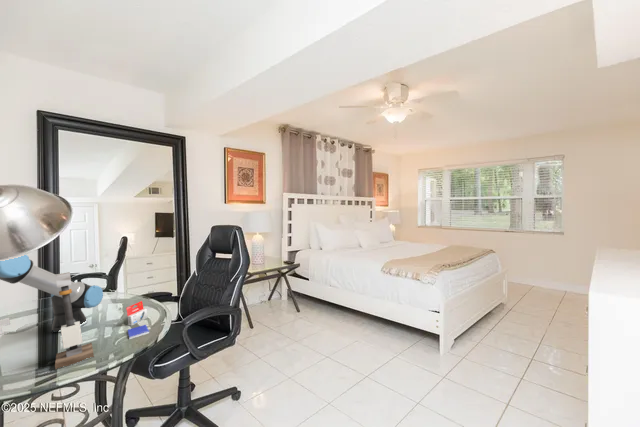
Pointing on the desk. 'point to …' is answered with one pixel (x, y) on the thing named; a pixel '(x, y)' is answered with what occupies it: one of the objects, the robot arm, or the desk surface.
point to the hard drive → (138, 331)
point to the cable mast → (74, 352)
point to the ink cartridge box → (136, 313)
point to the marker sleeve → (71, 335)
